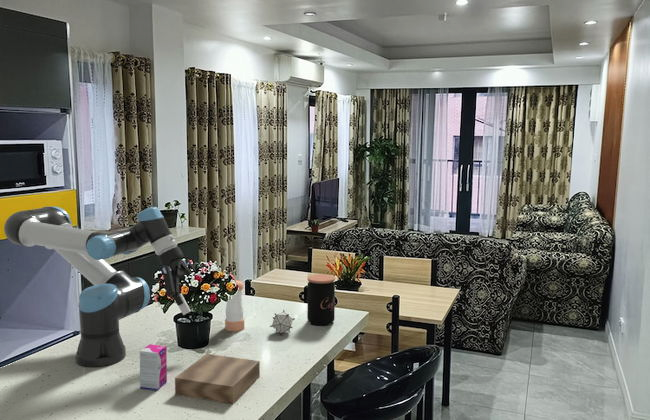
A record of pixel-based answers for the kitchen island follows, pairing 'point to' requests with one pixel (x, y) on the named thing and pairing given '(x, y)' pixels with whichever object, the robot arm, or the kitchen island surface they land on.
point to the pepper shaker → (235, 311)
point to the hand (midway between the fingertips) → (197, 307)
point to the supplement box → (153, 367)
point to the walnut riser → (217, 378)
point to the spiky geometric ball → (282, 322)
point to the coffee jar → (321, 299)
